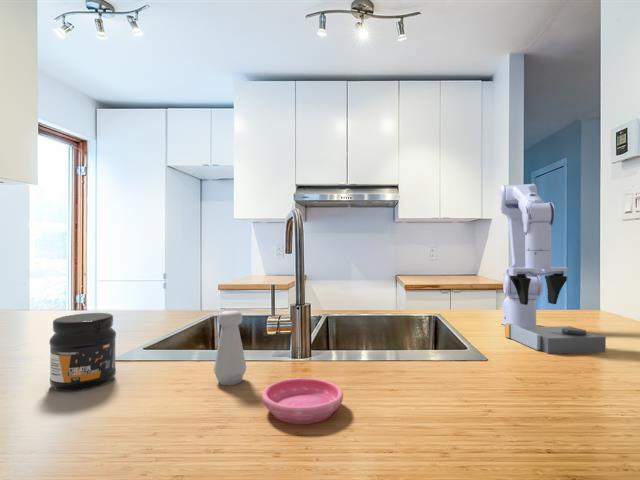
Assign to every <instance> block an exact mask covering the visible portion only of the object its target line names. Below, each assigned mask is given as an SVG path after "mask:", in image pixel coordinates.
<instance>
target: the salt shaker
mask: <svg viewBox="0 0 640 480" xmlns="http://www.w3.org/2000/svg"><path fill="white" fill-rule="evenodd" d="M217 319H218V320H217V321H218V324H219V325H220V327H221V328H220V334H219V339H218V344H217V348H216V349H217V350H216V355H215V361H214V367H213V373H214V374H215V378H216V380H217V382H218V383H219V384H220V385H221V386H235V385H237V384H241V383H242V380H243V378H244V375H245V373H246V371H247V364H246V359H245V354H244V348H243V342H242V338H241V333H240V326H239V325H241V323H242V322H243V315H242V313H241V312H240V311H239V310H232V309H231V310H223V311H221V312H220V313H219V314H218V317H217Z"/></svg>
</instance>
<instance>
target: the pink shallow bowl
mask: <svg viewBox="0 0 640 480" xmlns="http://www.w3.org/2000/svg"><path fill="white" fill-rule="evenodd" d="M343 399H344V392H343V389H342V388H341V386H339V385H337V384H336V383H333V382H331V381H329V380H325V379H324V380H323V379H319V378H314V377H313V378H312V377H293V378H286V379H282V380H278V381H275V382H273V383H271V384H269V385H267V386H266V387H265V388H264V389H263V390H262V393H261V400H262V404H263V405H264V406H265V408H266V409H267V410H268V411H269V412H270V413H271V414H272V415H273V417H274V418H275V419H277V420H279V421H281V422H283V423H287V424H293V425H309V424H314V423H315V424H316V423H320V422H323V421H325V420H327V419H328V418H330V417H331V416H332V415H333V413H334V412H335V411H336V410H337V409H338V408H339V406H340V405H341V404H342V402H343Z"/></svg>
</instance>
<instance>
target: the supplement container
mask: <svg viewBox="0 0 640 480" xmlns="http://www.w3.org/2000/svg"><path fill="white" fill-rule="evenodd" d="M113 325H114V315H113V314H111V313H107V312H89V313H87V312H86V313H78V314H70V315H65V316H64V315H63V316H61V317H57V318H55V319H53V321H52V332H53V335H52V336H51V337H50V339H49V346H50V347H49V349H50V351H49V352H50V354H49V357H50V358H49V359H50V363H49V364H50V366H49V369H50V370H49V371H50V373H49V374H50V377H49V384H50V386H51V387H52V388H53V389H55V390H57V391H61V392H76V391H84V390H89V389H94V388H96V387H100V386H102V385H105V384H107V383H109V382H110V381H111V380H113V378H114V377H115V376H116V373H117V368H116V339H117V332H116V331H115V330H114V328H113V327H112V326H113Z"/></svg>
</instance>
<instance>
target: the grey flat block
mask: <svg viewBox="0 0 640 480" xmlns="http://www.w3.org/2000/svg"><path fill="white" fill-rule="evenodd" d="M520 328H523V329H526V330H528V331H531V332H533V333H536V334H539V335H540V350H539V351H541V352H543V353H546V354H548V355H549V354H581V353H582V354H588V353H590V354H591V353H606V346H607V345H606V340H607V339H606V336H603V335H600V334H596V333H593V332H590V331H587V330H586V329H583V328H577V327H574V326H569V325H565V326H563V325H560V326H539V327H520Z"/></svg>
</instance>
